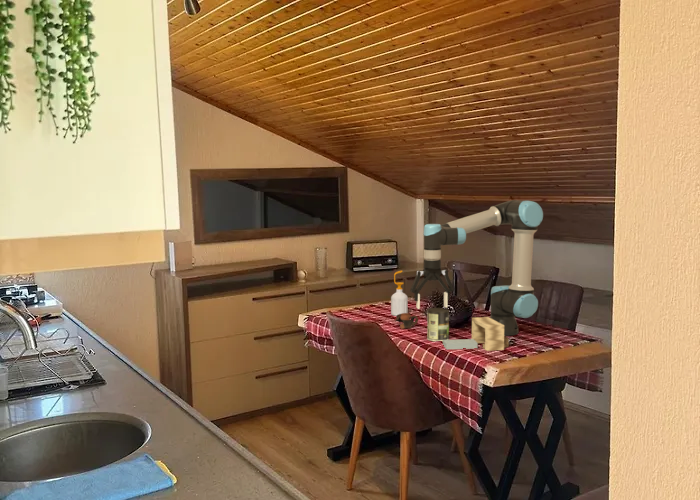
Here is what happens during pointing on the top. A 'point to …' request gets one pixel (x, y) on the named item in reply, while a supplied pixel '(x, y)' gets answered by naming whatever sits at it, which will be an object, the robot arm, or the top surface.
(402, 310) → the soap bottle
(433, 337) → the coffee can
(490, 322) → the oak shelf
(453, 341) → the grey flat block
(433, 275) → the robot arm
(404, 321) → the pottery mug
